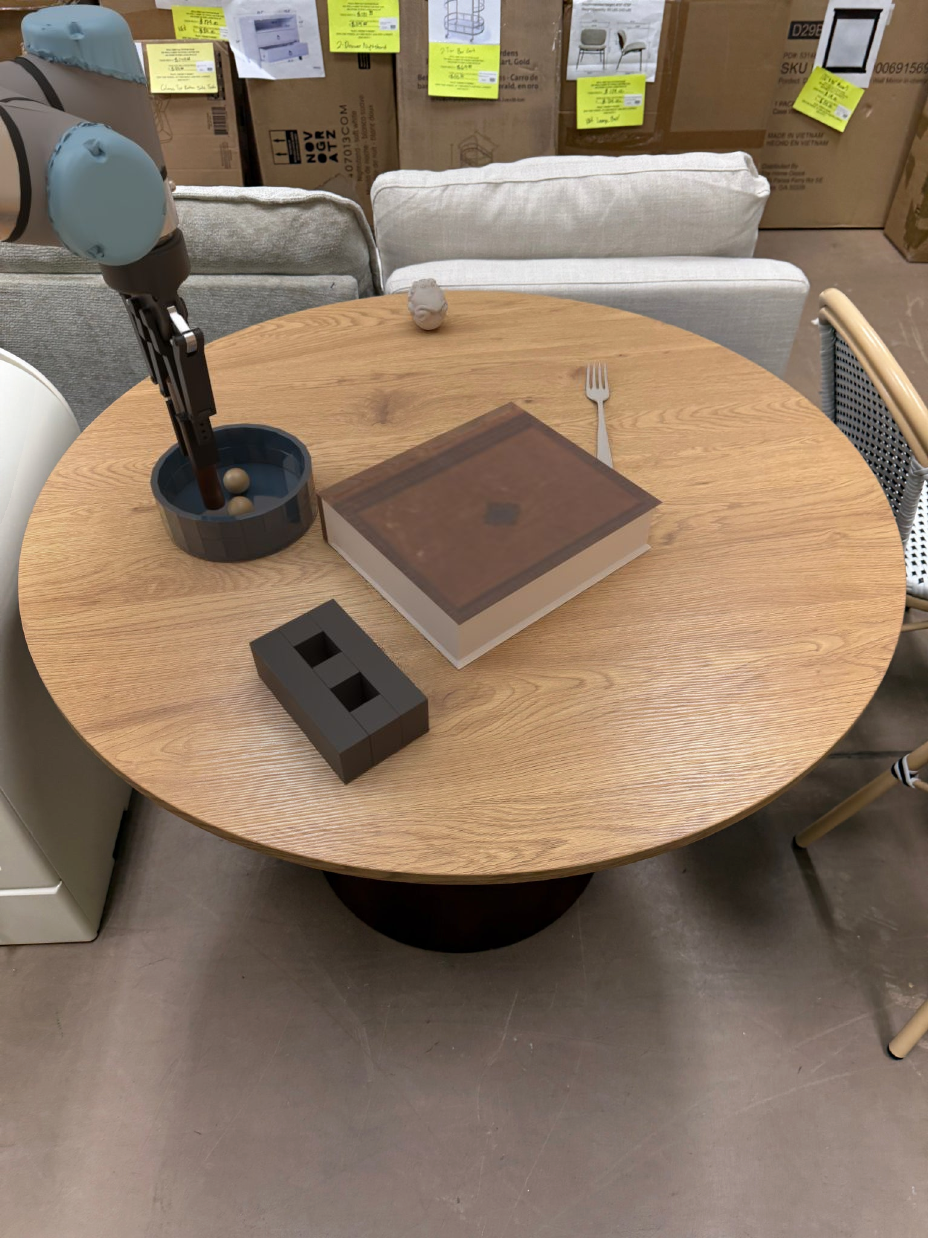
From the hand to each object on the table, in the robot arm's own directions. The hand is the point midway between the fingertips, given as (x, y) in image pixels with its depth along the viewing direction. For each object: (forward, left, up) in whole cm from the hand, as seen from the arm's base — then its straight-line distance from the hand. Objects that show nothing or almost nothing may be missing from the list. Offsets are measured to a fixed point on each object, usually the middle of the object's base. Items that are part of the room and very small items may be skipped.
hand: (201, 456), depth 87 cm
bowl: (+3, 0, -9) cm, 10 cm away
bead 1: (+4, +3, -7) cm, 9 cm away
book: (+22, -22, -9) cm, 32 cm away
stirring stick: (0, 0, -6) cm, 6 cm away
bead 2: (+2, -2, -7) cm, 8 cm away
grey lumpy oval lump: (+46, +21, -9) cm, 52 cm away
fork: (+49, -13, -9) cm, 52 cm away
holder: (-3, -30, -9) cm, 32 cm away
